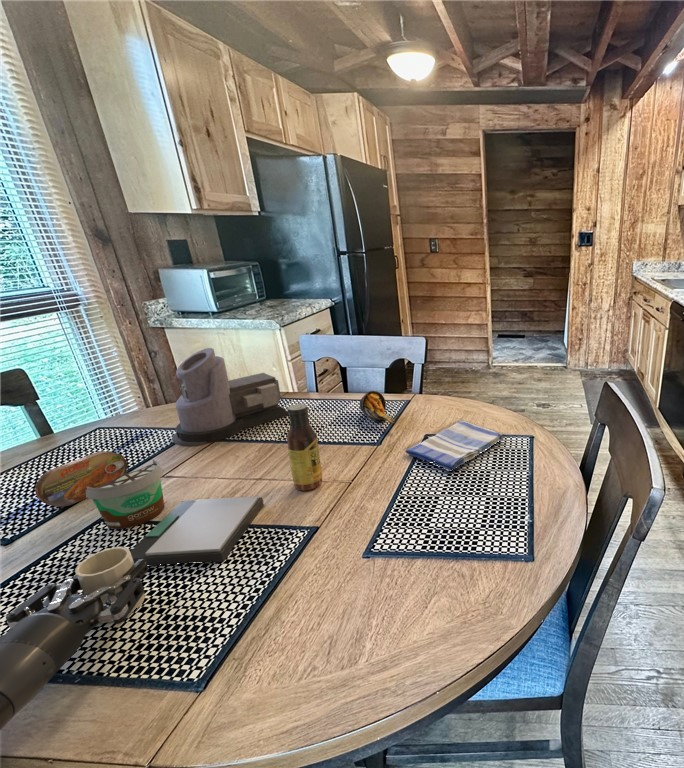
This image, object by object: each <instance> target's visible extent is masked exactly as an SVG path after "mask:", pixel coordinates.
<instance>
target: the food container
mask: <svg viewBox="0 0 684 768" xmlns="http://www.w3.org/2000/svg"><path fill="white" fill-rule="evenodd" d="M163 475H164V469H163V468H162V466H161V464H160V463H159V462H158V461H157V460H155V459H152V463H151V464H148V465H146V466H144V467H142V468H140V469H137V470H133V471H130V472H126V474H124V475H121V476H119V477H118V478H116V479H114V480H112V481H110V482H108V483H106V484H104V485H102V486H100V487H97V488H90V487H87V490H86V499H90V500H92V501H93V503H94V505H95V506H96V508H97V510H98V512H99V514H100V515H101V517H102V519H103V521H104V524H105V525H106V527H107V528H108V529H111V530H122V529H124V530H125V529H130V528H134V527H136V526H137V527H138V526H140V525H143V524H145V523H147V522H150V521H151V520H154V519H155V518H156V517H158V516H160V514H161V513H162V512H163V511H164V510H165V500H164V495H163V493H164V492H163V486H162V480H161V479H162V478H161V477H162V476H163Z"/></svg>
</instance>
